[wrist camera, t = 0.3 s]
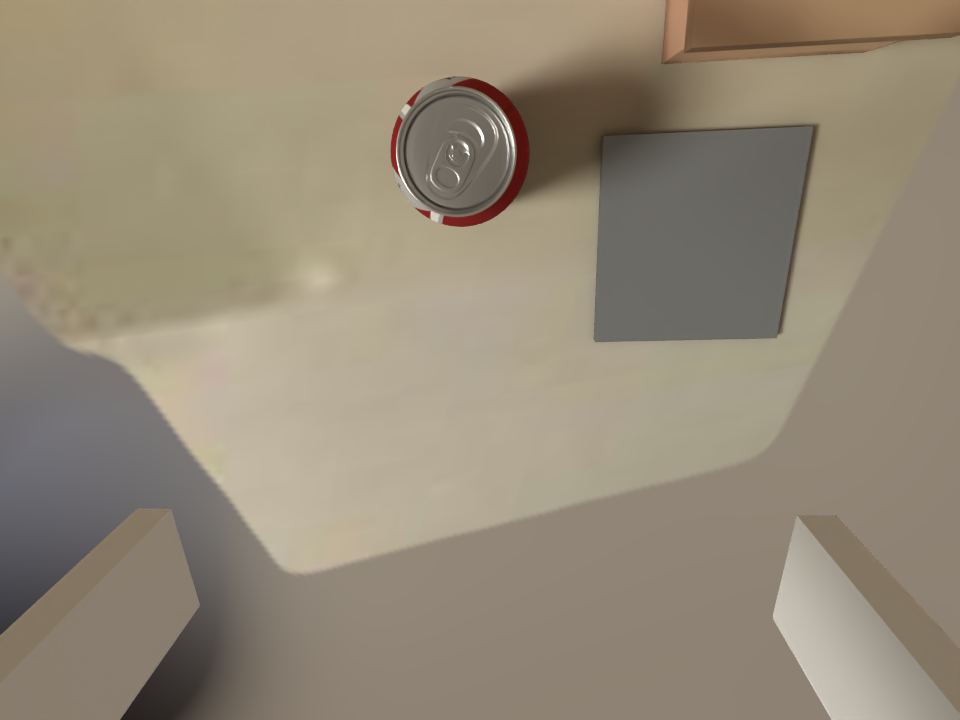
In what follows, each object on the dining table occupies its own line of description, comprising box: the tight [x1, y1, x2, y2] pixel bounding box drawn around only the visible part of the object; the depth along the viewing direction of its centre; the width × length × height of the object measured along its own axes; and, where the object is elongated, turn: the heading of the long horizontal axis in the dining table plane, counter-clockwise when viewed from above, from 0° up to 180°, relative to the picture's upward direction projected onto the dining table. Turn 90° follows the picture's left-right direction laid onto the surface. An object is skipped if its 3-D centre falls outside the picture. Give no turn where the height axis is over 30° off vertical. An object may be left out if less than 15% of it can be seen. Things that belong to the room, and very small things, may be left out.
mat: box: [594, 126, 814, 342], centre depth 35 cm, size 14×13×1 cm
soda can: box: [391, 77, 529, 227], centre depth 28 cm, size 7×7×12 cm
